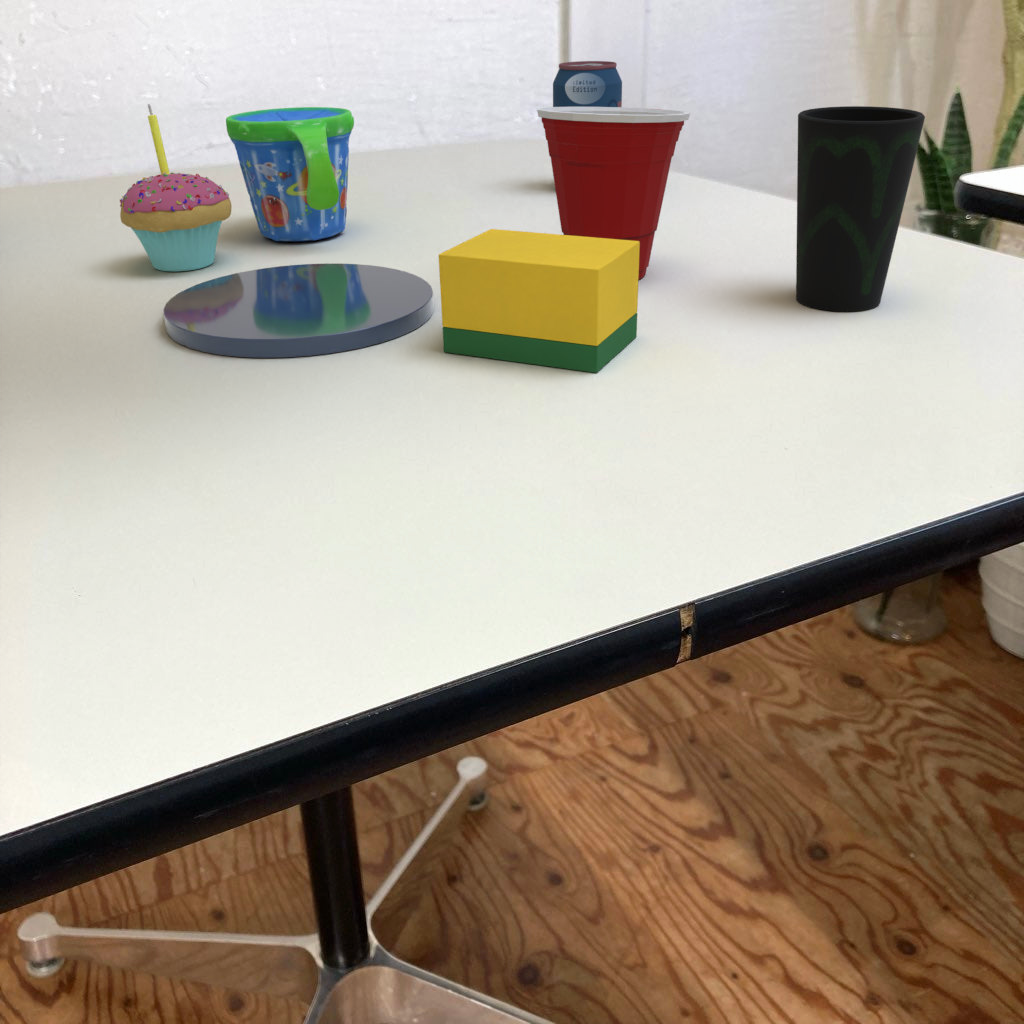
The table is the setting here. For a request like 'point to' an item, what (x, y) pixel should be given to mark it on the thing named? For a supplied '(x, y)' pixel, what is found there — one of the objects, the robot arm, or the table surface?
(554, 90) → the soda can
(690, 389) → the table surface
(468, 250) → the sponge
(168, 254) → the cupcake
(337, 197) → the snack cup
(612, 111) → the plastic cup
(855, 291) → the cup
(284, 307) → the plate
